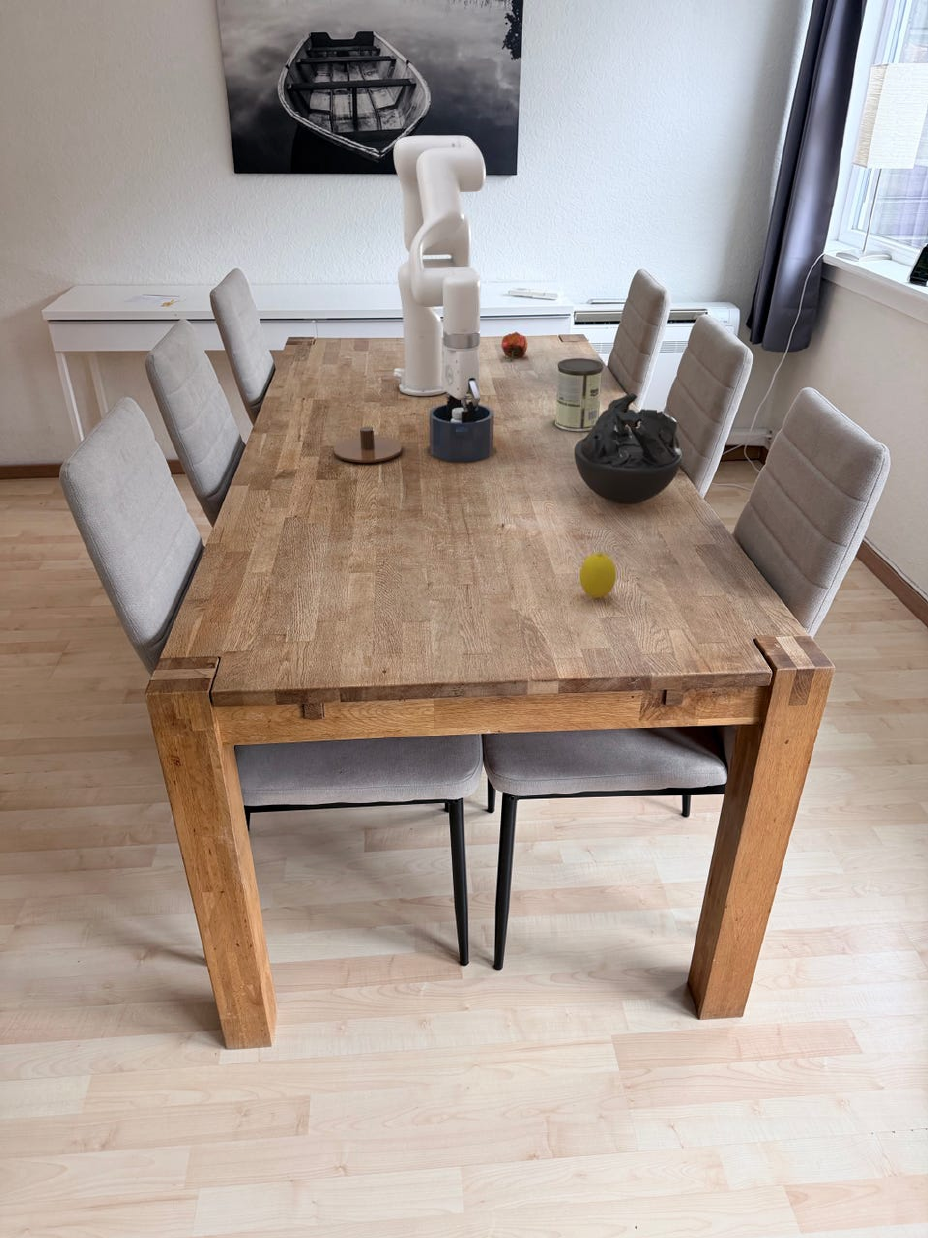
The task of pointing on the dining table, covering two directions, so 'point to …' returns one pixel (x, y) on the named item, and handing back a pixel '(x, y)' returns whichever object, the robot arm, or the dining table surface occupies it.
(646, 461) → the coal bowl
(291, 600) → the dining table surface
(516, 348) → the pomegranate
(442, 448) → the pot
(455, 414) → the pill bottle
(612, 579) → the lemon
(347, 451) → the lid
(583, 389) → the coffee can
